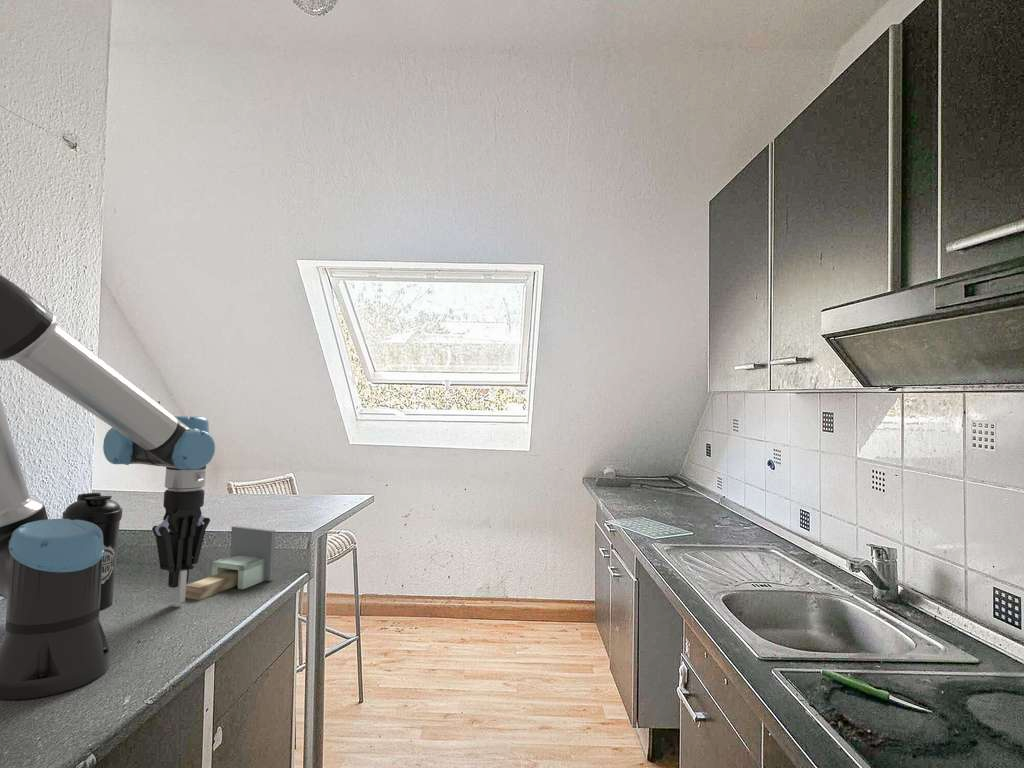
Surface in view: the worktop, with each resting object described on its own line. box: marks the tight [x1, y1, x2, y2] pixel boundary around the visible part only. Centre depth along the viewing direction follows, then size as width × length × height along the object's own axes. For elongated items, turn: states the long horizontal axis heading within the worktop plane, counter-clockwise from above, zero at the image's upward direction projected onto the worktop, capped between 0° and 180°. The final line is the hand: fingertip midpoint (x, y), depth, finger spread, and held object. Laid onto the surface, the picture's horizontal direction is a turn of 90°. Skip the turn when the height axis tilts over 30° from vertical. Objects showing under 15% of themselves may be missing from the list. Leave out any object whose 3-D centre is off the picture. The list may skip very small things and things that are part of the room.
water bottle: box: [61, 492, 123, 611], centre depth 122 cm, size 10×10×23 cm
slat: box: [185, 569, 238, 601], centre depth 135 cm, size 14×4×3 cm, turn 163°
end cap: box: [211, 525, 276, 590], centre depth 141 cm, size 8×12×12 cm
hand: (177, 601), depth 124 cm, fingers closed
